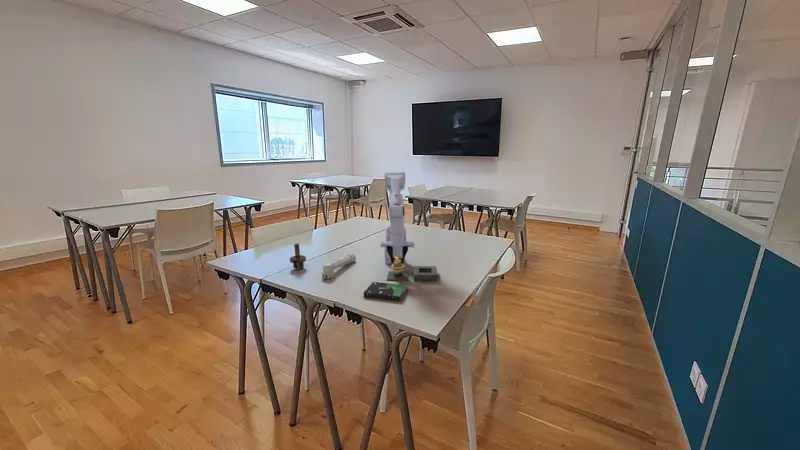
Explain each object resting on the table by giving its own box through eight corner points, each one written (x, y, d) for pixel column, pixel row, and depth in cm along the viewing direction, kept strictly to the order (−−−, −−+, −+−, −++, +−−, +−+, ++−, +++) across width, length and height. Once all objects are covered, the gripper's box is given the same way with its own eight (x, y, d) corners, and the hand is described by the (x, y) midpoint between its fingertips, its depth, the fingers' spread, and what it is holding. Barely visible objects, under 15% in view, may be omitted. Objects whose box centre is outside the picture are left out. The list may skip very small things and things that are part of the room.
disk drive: (363, 299, 124) (400, 303, 120) (363, 292, 123) (400, 296, 119) (372, 287, 133) (407, 291, 129) (372, 281, 133) (407, 284, 129)
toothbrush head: (357, 254, 162) (328, 264, 138) (356, 267, 162) (328, 279, 139) (347, 253, 163) (318, 263, 140) (347, 265, 164) (318, 278, 141)
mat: (386, 280, 139) (386, 279, 139) (388, 272, 147) (388, 271, 147) (407, 280, 138) (407, 279, 138) (408, 272, 147) (408, 271, 147)
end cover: (390, 276, 140) (389, 259, 138) (392, 271, 146) (391, 255, 144) (404, 276, 139) (403, 260, 138) (405, 271, 145) (405, 255, 143)
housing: (413, 281, 138) (413, 274, 137) (414, 272, 147) (414, 266, 146) (437, 281, 137) (437, 274, 136) (436, 272, 147) (436, 266, 146)
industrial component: (301, 271, 150) (299, 247, 147) (287, 270, 151) (285, 246, 148) (311, 264, 159) (309, 241, 156) (297, 263, 160) (295, 240, 157)
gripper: (379, 235, 135) (380, 265, 138) (414, 235, 134) (414, 266, 137) (381, 230, 141) (382, 260, 145) (414, 230, 140) (414, 260, 144)
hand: (397, 262), depth 141 cm, fingers closed on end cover, 4 cm apart
